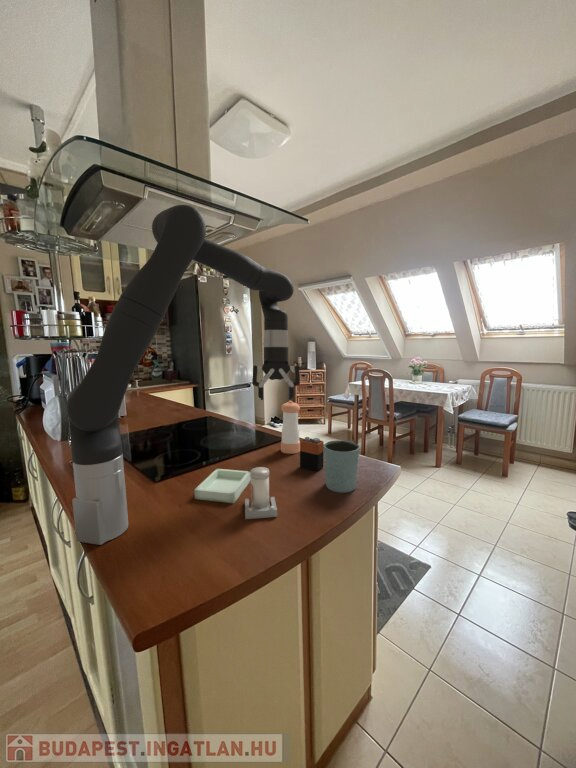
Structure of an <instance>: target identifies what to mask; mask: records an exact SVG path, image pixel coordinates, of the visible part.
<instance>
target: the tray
mask: <svg viewBox="0 0 576 768" xmlns="http://www.w3.org/2000/svg"><path fill="white" fill-rule="evenodd" d="M250 471H251V470H250ZM250 471H248V470H236V469H225V468H216V469H215V470H214V471H213V472H211V473H210V474H209V475H208V476H207V478H205V479H204V480H203V481H202V482H200V483H199V485H198V486H196V488H194V490H193V491H194V499H195V500H199V501H200V500H201V501H209V502H219V503H227V504H235V503H236V501H237V500H238V499H239V497H240V496H241V494H242V493H243V492H244V490H245V489H246V488H247V486H248V485H249V484H250V483H251V473H250Z"/></svg>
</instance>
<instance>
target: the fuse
mask: <svg viewBox="0 0 576 768" xmlns="http://www.w3.org/2000/svg"><path fill="white" fill-rule="evenodd" d="M250 473H251V481H250V498H251V499H250V500H251V504H250V508H252V509H264V508H270V506H271V502H270V469H269V468H267V467H265V466H259V467H254V468H251V469H250Z"/></svg>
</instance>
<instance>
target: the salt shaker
mask: <svg viewBox="0 0 576 768" xmlns="http://www.w3.org/2000/svg"><path fill="white" fill-rule="evenodd" d="M300 409H301V406H300V405H299V404H298V403H296V402H294V401H292V400H288V402H285V403H283V404H282V405H281V407H280V410H281V411H282V417H283V418H282V421H283V422H282V428H281V441H280V452H281V453H283V454H287V455H291V454H293V455H294V454H297V453H300V441H301V440H300V428H299V413H298V412H300Z"/></svg>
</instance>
